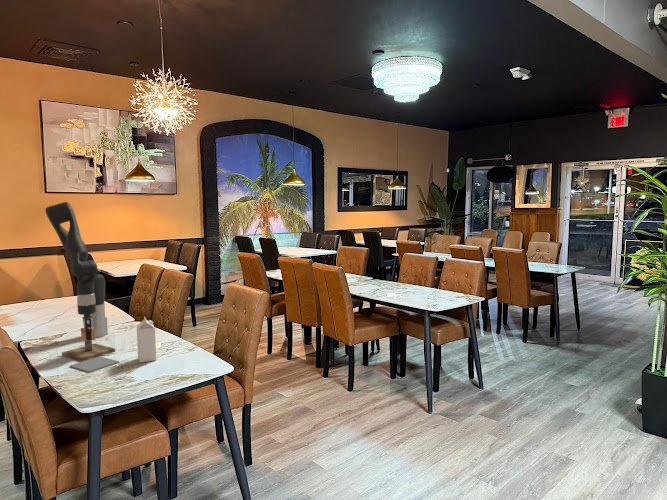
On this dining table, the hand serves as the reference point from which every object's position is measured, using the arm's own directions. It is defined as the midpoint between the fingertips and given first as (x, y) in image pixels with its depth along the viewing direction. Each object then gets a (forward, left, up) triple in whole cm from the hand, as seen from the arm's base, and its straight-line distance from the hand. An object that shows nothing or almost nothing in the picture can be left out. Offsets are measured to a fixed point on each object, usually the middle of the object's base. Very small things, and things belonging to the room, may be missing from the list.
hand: (88, 338), depth 216 cm
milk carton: (-8, +31, -8) cm, 33 cm away
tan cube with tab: (0, 0, 0) cm, 1 cm away
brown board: (0, 0, -7) cm, 7 cm away
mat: (+8, +17, -7) cm, 20 cm away
